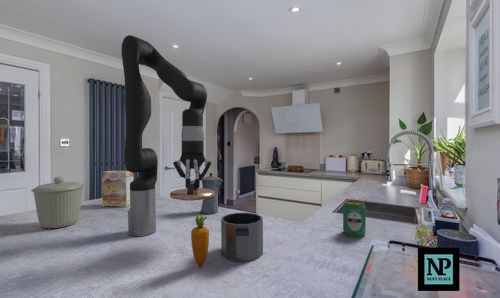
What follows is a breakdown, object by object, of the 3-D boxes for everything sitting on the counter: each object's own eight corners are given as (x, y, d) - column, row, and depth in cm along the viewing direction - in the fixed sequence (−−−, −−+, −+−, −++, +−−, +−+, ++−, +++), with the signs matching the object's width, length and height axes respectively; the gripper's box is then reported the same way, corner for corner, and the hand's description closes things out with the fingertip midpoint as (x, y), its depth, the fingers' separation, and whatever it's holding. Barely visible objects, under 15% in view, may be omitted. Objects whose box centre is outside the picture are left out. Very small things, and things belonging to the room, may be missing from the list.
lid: (164, 202, 81) (164, 185, 81) (176, 192, 96) (176, 178, 96) (211, 202, 81) (211, 185, 81) (216, 192, 96) (216, 178, 96)
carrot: (192, 263, 74) (192, 212, 74) (209, 262, 75) (209, 212, 74) (190, 272, 69) (189, 217, 69) (208, 271, 70) (208, 216, 69)
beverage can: (343, 235, 95) (343, 204, 95) (343, 228, 103) (343, 199, 102) (366, 238, 93) (366, 205, 92) (364, 231, 100) (364, 200, 100)
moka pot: (220, 215, 123) (220, 174, 122) (190, 214, 126) (190, 173, 125) (226, 210, 132) (225, 172, 132) (198, 209, 135) (197, 171, 135)
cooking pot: (219, 265, 73) (219, 227, 73) (223, 242, 90) (223, 211, 89) (264, 264, 73) (264, 226, 73) (260, 241, 90) (260, 211, 90)
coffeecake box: (102, 206, 142) (101, 171, 141) (111, 203, 149) (110, 170, 148) (126, 207, 139) (125, 172, 139) (134, 204, 146) (133, 170, 146)
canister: (22, 229, 105) (20, 178, 105) (67, 217, 122) (66, 173, 121) (50, 234, 98) (48, 180, 98) (94, 221, 115) (93, 175, 114)
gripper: (169, 139, 84) (169, 191, 85) (211, 139, 84) (211, 191, 85) (175, 139, 91) (175, 187, 92) (213, 139, 92) (213, 187, 92)
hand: (192, 189), depth 88 cm, fingers closed on lid
